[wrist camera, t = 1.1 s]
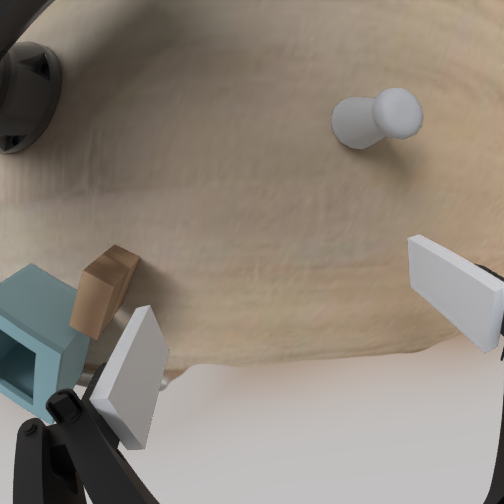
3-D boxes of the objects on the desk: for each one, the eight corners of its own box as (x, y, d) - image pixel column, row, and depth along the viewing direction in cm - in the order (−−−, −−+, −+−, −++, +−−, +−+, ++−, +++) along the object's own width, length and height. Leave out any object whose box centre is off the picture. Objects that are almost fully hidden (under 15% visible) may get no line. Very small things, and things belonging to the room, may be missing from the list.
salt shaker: (366, 155, 34) (427, 159, 21) (320, 141, 33) (366, 134, 21) (376, 109, 32) (439, 94, 20) (331, 93, 31) (379, 65, 19)
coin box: (21, 336, 39) (-18, 378, 27) (31, 263, 35) (-22, 298, 24) (82, 373, 41) (52, 425, 29) (101, 303, 37) (61, 354, 26)
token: (99, 291, 37) (69, 325, 28) (114, 244, 35) (83, 270, 27) (122, 303, 38) (97, 340, 29) (139, 257, 36) (114, 286, 27)
